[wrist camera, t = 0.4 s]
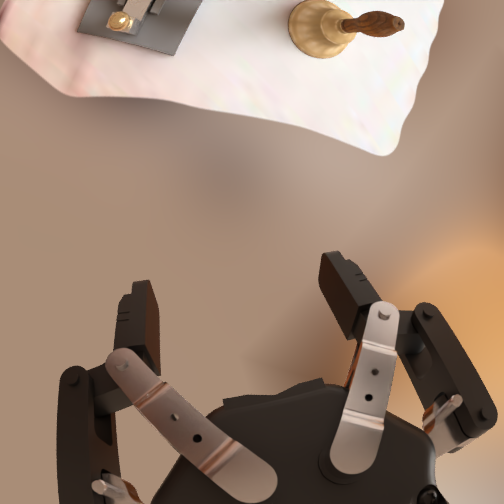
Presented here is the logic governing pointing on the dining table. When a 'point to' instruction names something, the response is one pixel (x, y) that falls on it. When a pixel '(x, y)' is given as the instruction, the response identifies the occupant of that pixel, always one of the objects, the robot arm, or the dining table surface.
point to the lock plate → (144, 23)
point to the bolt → (130, 17)
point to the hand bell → (335, 27)
